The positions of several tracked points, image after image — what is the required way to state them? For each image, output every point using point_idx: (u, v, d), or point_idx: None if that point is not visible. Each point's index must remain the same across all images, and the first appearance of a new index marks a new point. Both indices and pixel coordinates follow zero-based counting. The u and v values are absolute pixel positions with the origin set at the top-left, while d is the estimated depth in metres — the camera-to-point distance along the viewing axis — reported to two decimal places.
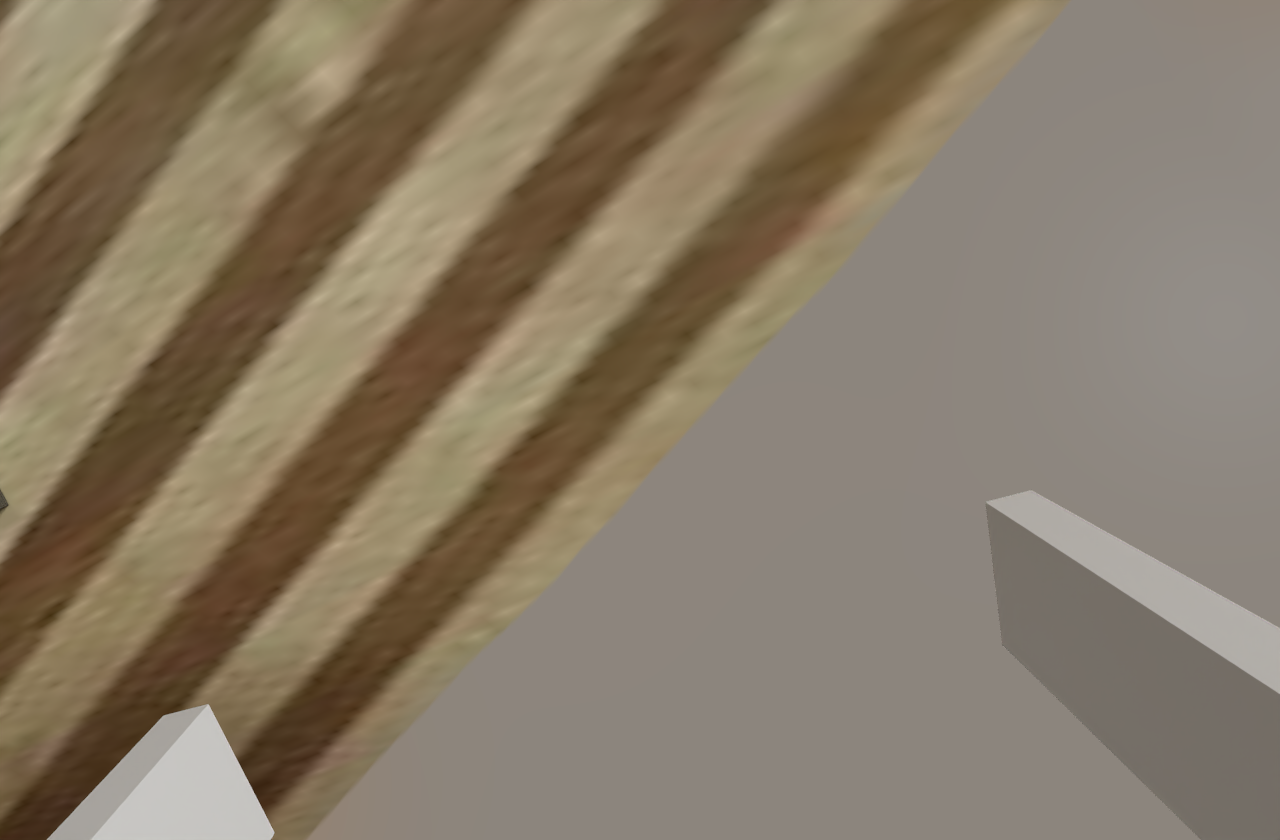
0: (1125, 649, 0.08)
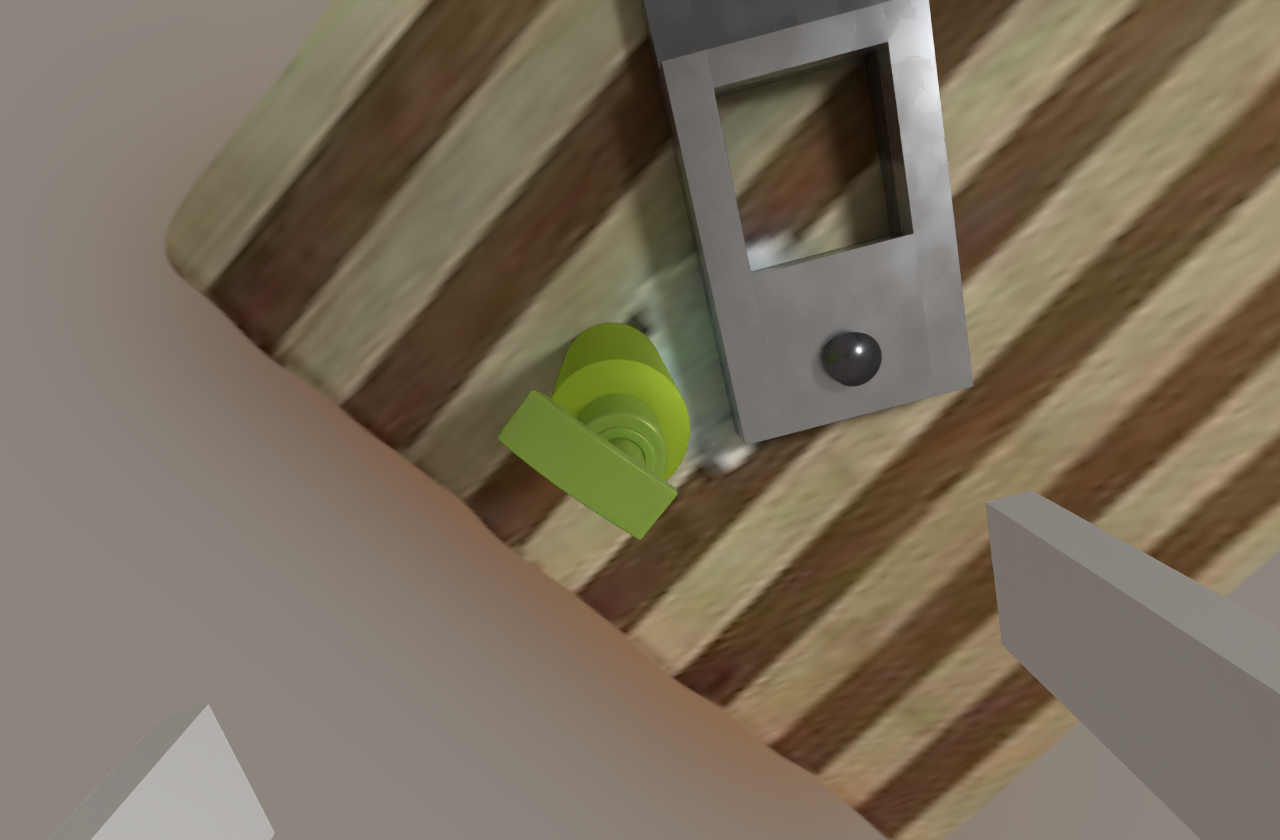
0: (1125, 650, 0.08)
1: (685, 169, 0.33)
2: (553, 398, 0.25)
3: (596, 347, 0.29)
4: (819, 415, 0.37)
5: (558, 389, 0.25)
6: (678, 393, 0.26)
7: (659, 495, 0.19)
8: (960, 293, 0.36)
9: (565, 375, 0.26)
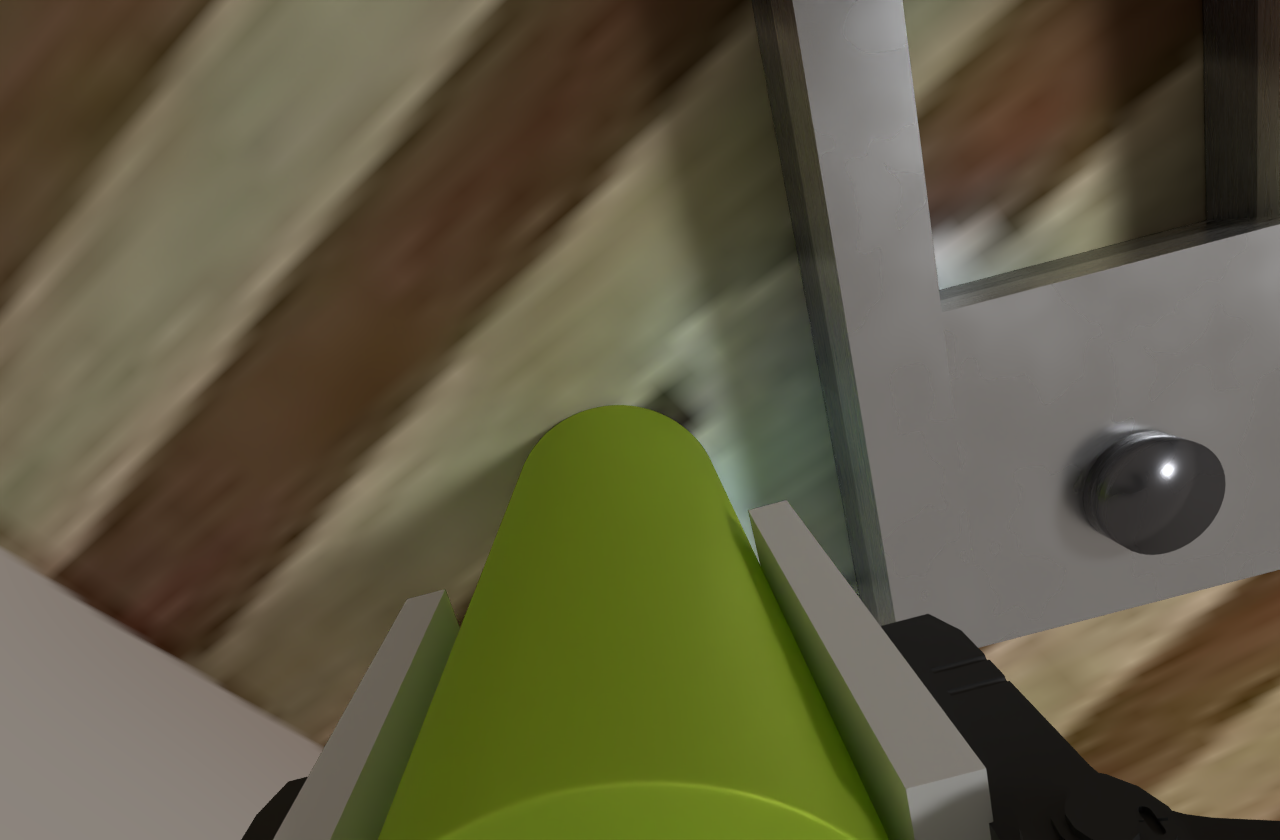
0: (800, 630, 0.10)
1: (800, 55, 0.14)
2: None
3: (567, 568, 0.09)
4: (1062, 605, 0.17)
5: None
6: None
7: None
8: None
9: (431, 758, 0.07)
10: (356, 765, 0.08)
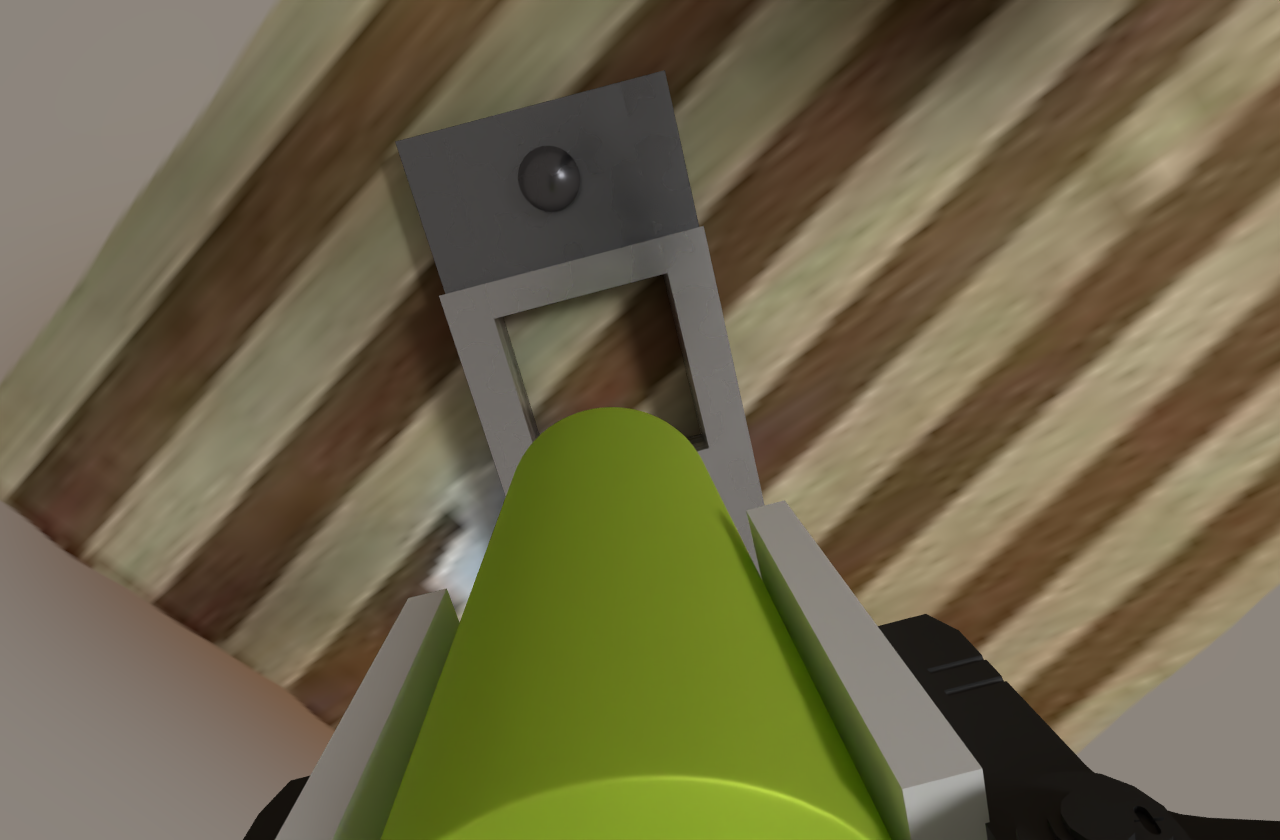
0: (797, 631, 0.10)
1: (472, 393, 0.33)
2: None
3: (565, 568, 0.09)
4: None
5: None
6: None
7: None
8: (761, 502, 0.36)
9: (434, 758, 0.07)
10: (359, 764, 0.08)
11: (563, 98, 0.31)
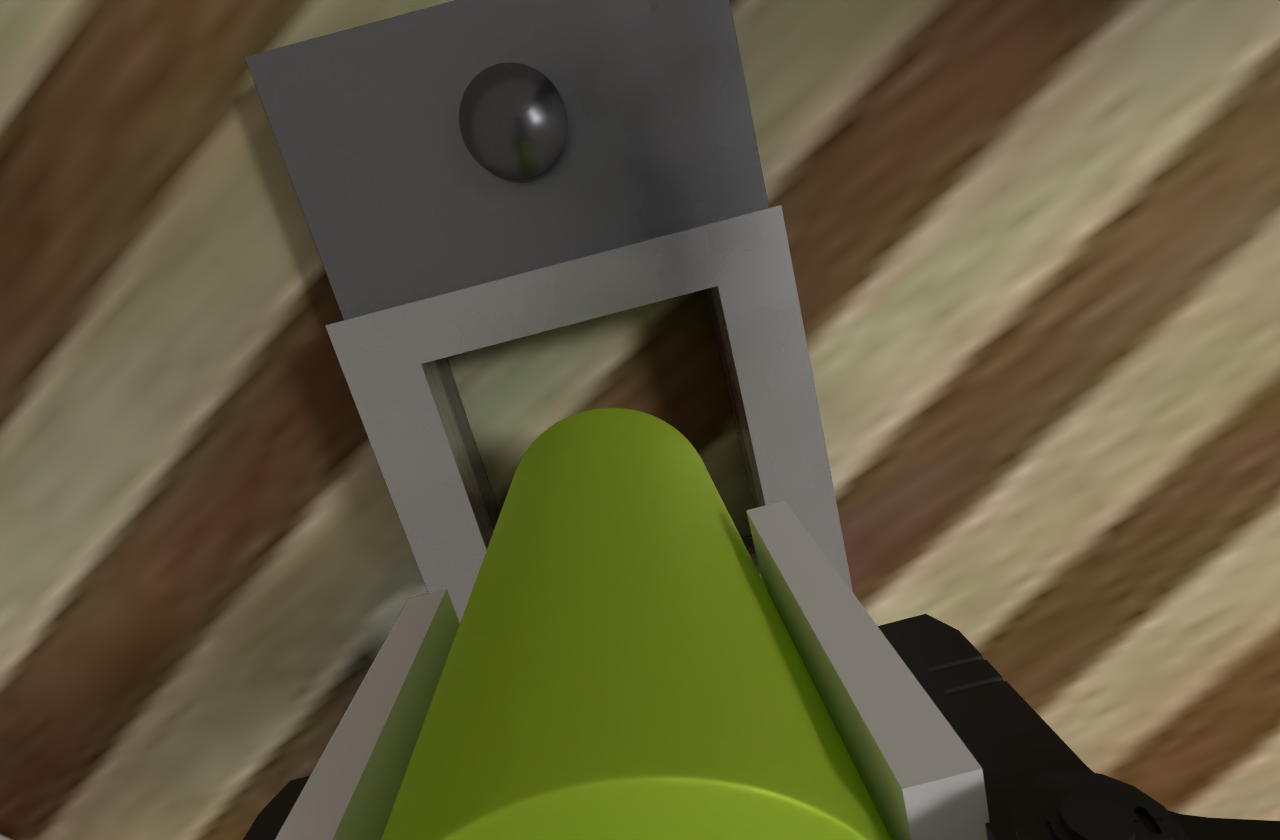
0: (797, 631, 0.10)
1: (389, 486, 0.20)
2: None
3: (565, 569, 0.09)
4: None
5: None
6: None
7: None
8: None
9: (434, 759, 0.07)
10: (359, 763, 0.08)
11: None
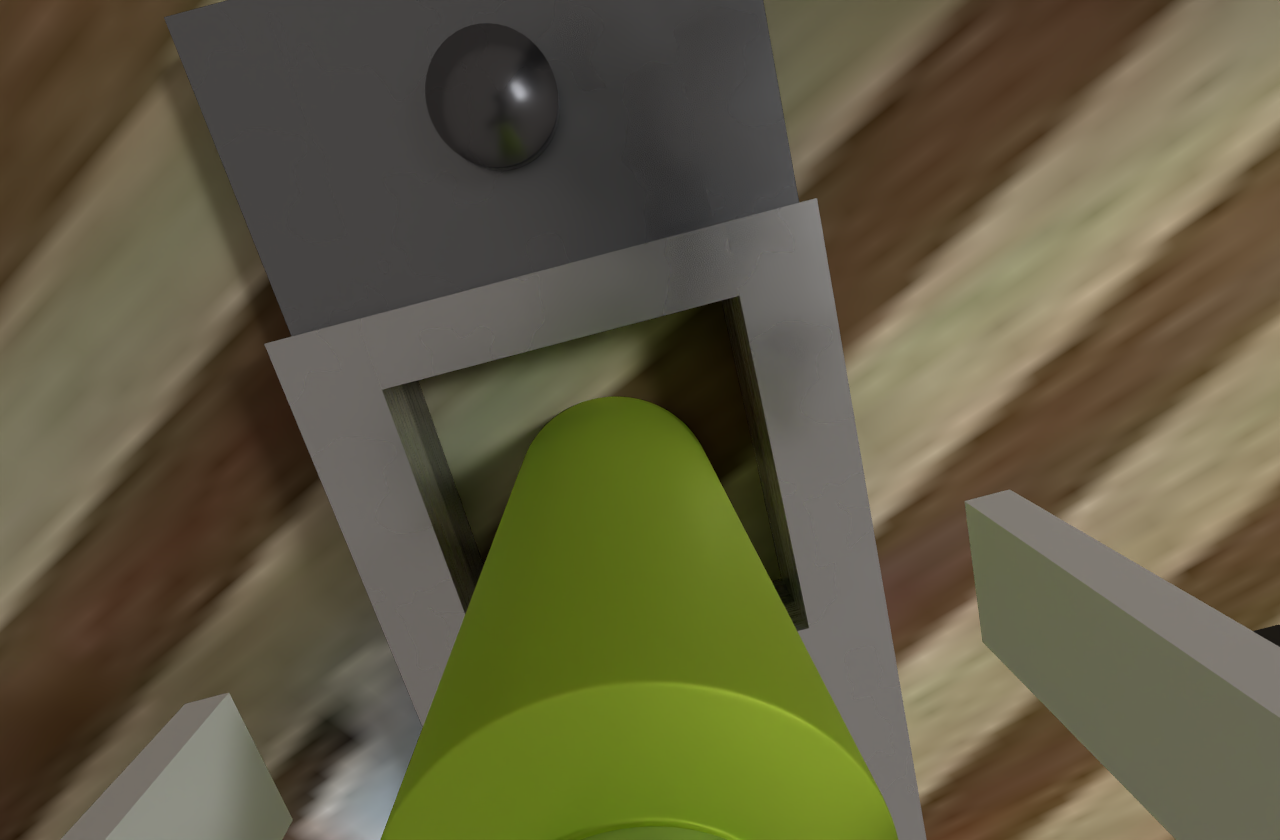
0: (1095, 645, 0.08)
1: (346, 534, 0.17)
2: (396, 822, 0.07)
3: (573, 529, 0.10)
4: None
5: (413, 792, 0.06)
6: (871, 789, 0.07)
7: None
8: (901, 719, 0.19)
9: (460, 682, 0.08)
10: None
11: None
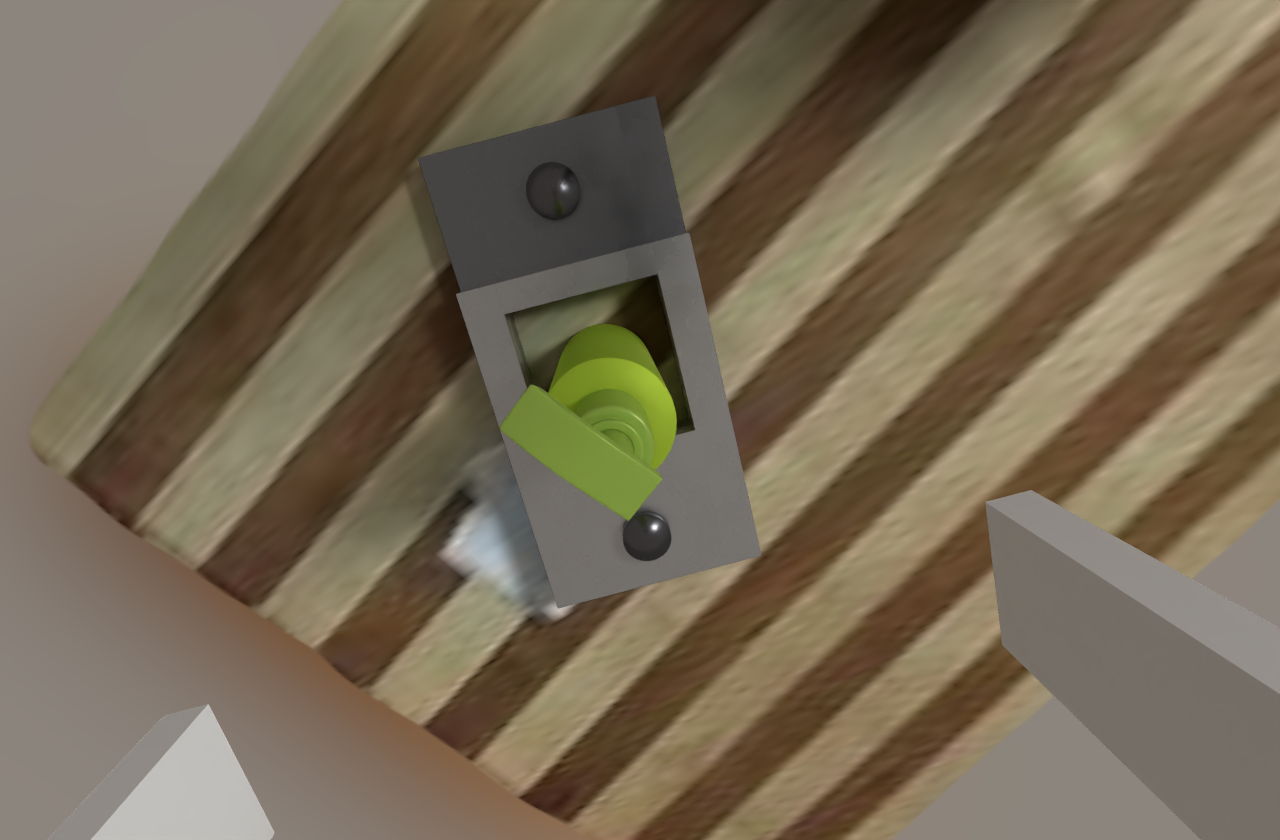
0: (1125, 649, 0.08)
1: (484, 380, 0.37)
2: (549, 394, 0.27)
3: (589, 347, 0.31)
4: (623, 582, 0.41)
5: (554, 385, 0.27)
6: (665, 389, 0.28)
7: (645, 480, 0.21)
8: (742, 478, 0.40)
9: (560, 373, 0.28)
10: None
11: (565, 120, 0.35)
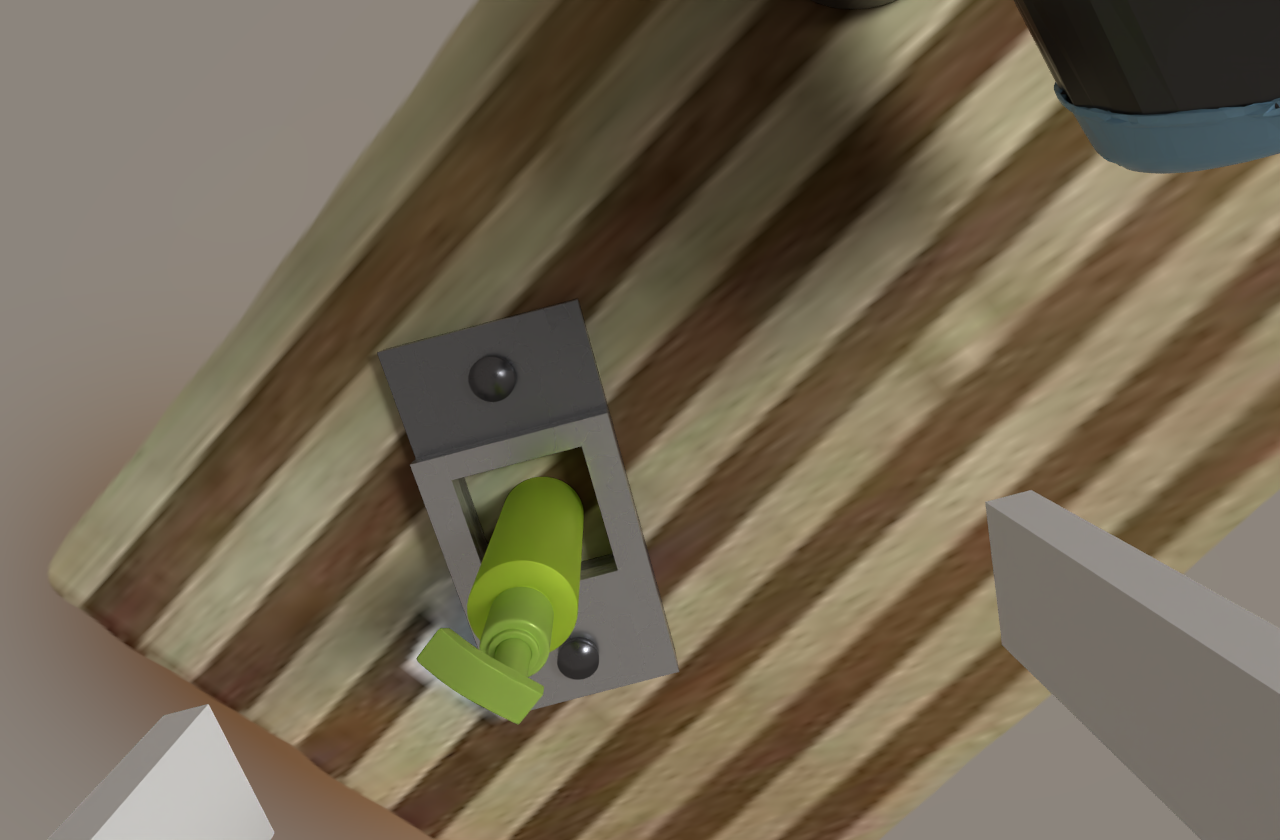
0: (1126, 649, 0.08)
1: (436, 533, 0.44)
2: (473, 588, 0.34)
3: (513, 531, 0.37)
4: (559, 695, 0.48)
5: (476, 582, 0.34)
6: (567, 583, 0.34)
7: (530, 696, 0.28)
8: (660, 609, 0.46)
9: (484, 565, 0.35)
10: None
11: (502, 320, 0.42)
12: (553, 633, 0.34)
